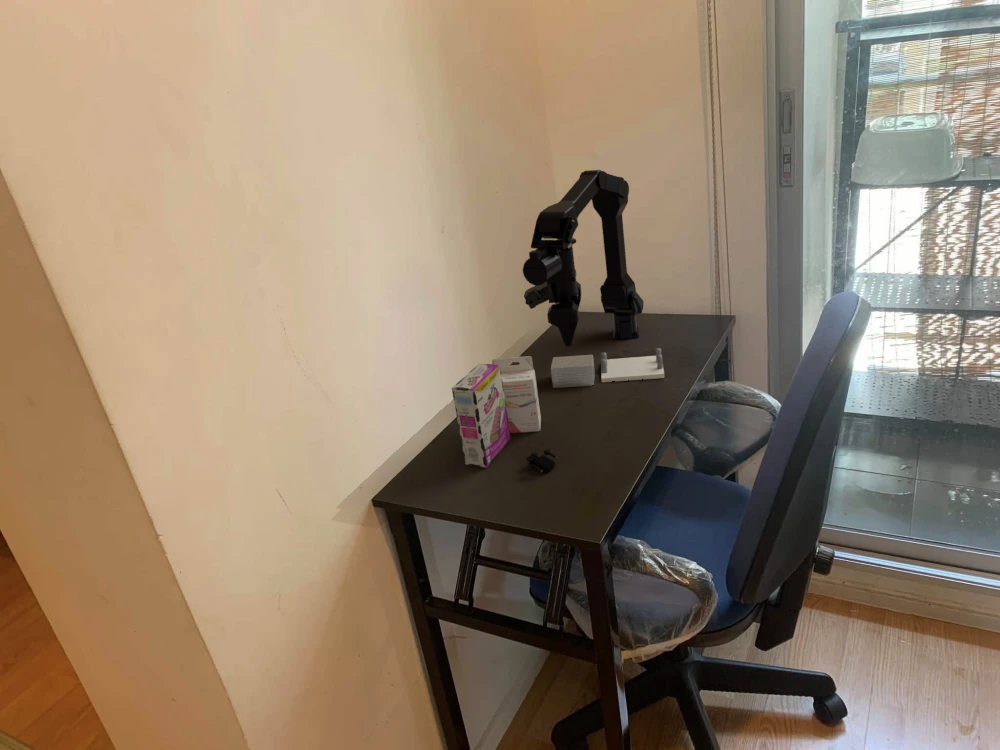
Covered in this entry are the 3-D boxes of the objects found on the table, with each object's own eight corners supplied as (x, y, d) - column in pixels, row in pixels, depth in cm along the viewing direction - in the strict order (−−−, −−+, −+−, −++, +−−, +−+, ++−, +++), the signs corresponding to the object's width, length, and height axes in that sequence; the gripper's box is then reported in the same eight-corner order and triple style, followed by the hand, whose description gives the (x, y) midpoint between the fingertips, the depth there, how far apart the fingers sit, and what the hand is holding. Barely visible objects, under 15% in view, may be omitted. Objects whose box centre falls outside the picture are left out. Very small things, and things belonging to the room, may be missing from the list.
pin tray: (602, 363, 163) (600, 348, 161) (661, 359, 160) (660, 343, 159) (601, 382, 154) (600, 366, 152) (664, 377, 151) (663, 361, 150)
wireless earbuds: (541, 475, 122) (518, 461, 124) (539, 485, 123) (516, 471, 126) (563, 455, 127) (540, 442, 129) (560, 465, 128) (538, 452, 130)
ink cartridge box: (498, 435, 140) (487, 369, 134) (500, 423, 144) (489, 358, 138) (540, 431, 138) (531, 364, 132) (542, 419, 143) (532, 354, 137)
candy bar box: (488, 469, 128) (473, 390, 122) (464, 466, 131) (449, 388, 124) (513, 438, 137) (500, 363, 131) (490, 436, 140) (477, 362, 133)
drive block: (555, 376, 161) (553, 357, 159) (594, 374, 159) (592, 354, 157) (553, 388, 155) (550, 368, 153) (593, 386, 154) (591, 365, 151)
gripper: (528, 261, 156) (537, 325, 163) (518, 287, 140) (528, 358, 146) (577, 256, 154) (584, 321, 161) (573, 282, 138) (581, 354, 144)
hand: (569, 338), depth 153 cm, fingers open, 9 cm apart
